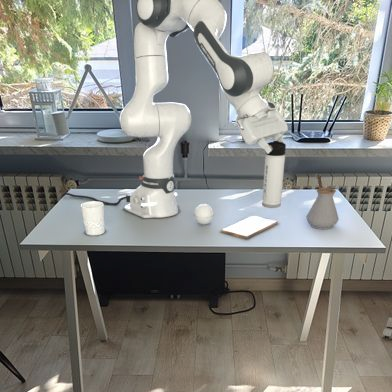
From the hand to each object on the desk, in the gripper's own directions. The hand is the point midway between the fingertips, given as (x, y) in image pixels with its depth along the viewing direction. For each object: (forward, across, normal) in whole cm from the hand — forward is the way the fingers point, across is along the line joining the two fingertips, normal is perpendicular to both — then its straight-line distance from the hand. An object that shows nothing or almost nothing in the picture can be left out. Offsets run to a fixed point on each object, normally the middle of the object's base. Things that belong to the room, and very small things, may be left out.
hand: (277, 150), depth 160 cm
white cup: (-15, -37, +56) cm, 69 cm away
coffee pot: (+24, +24, +16) cm, 38 cm away
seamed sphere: (+3, -6, +38) cm, 39 cm away
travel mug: (+12, 0, +13) cm, 18 cm away
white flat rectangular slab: (+13, +2, +27) cm, 30 cm away
